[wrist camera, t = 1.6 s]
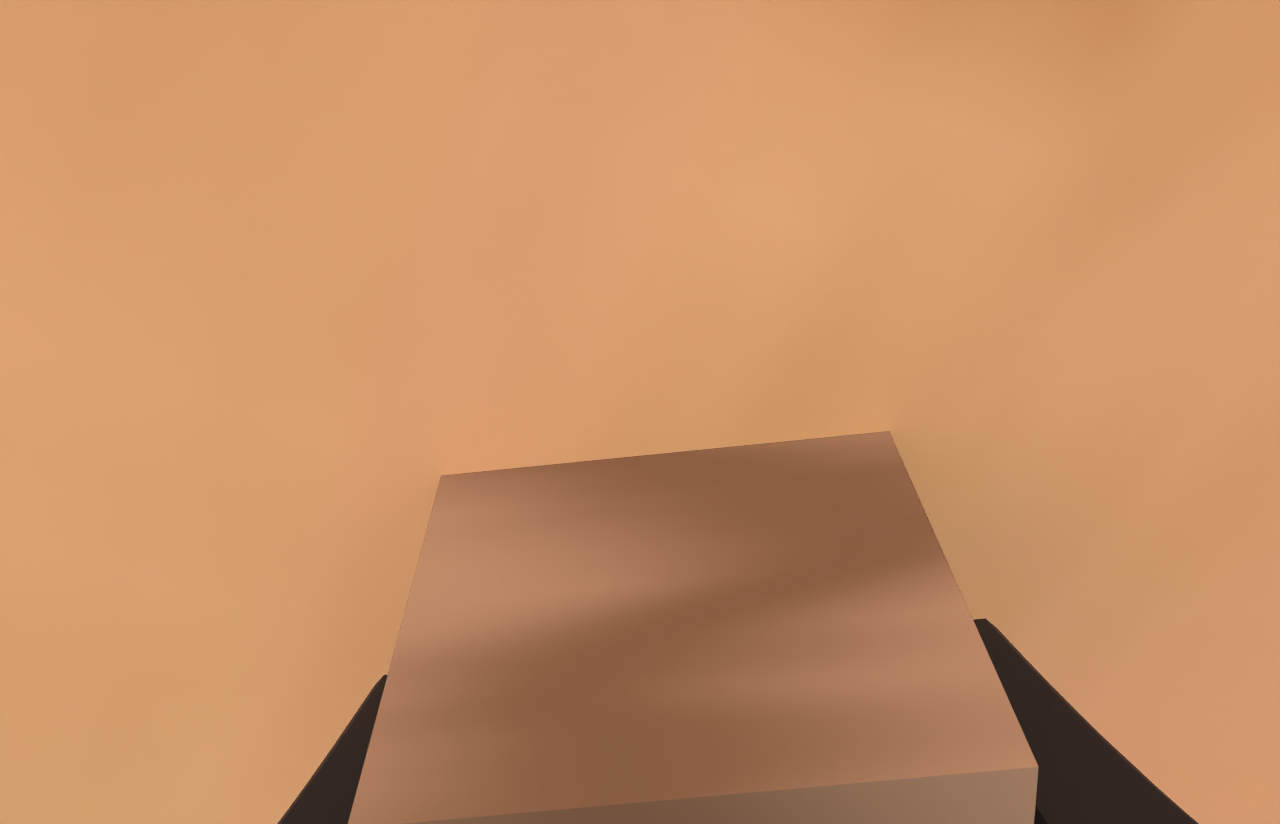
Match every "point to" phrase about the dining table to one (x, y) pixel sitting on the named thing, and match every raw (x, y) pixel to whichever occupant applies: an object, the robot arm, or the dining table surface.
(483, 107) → the dining table surface
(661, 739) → the walnut block
